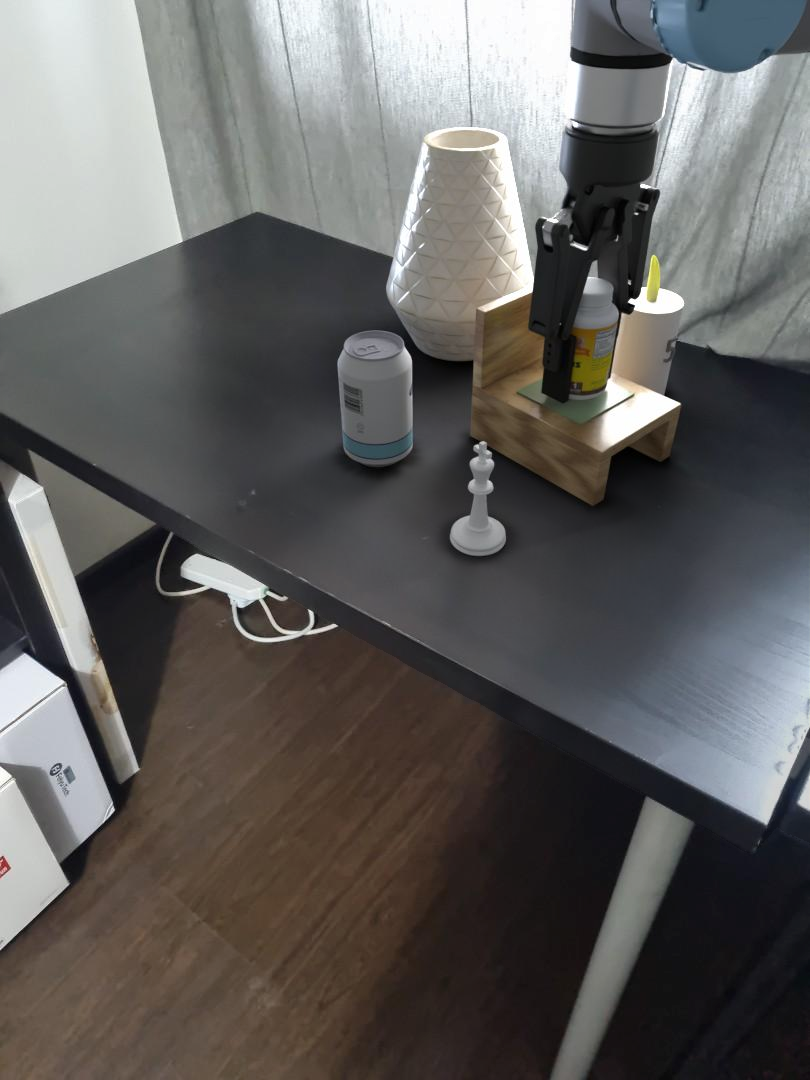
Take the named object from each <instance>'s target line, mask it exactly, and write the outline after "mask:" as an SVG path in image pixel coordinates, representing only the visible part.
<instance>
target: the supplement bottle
mask: <svg viewBox="0 0 810 1080" xmlns="http://www.w3.org/2000/svg"><path fill="white" fill-rule="evenodd" d="M612 295H613V285H612V284H611V283H610V282H608V281H606V280H604V279H600V278H598V277H593V276H588V278H587V281H586V285H585V288H584V291H583V295H582V298H581V301H580V305H579V308H578V311H577V315H576V318H575V321H574V325H573V328H572V331H571V334H572V335H574V336H576V337H577V339H576V347H575V354H574V362H573V370H572V377H571V385H570V393H569V399H575V400H587V399H592V398H595V397H597V396H599V395H601V394H602V393H603V392H604V391H605V389H606V387H607V382H608V377H609V370H610V365H611V359H612V353H613V347H614V341H615V335H616V329H617V322H618V316H619V313H618V309H617V307H616V306H615V305H614V304H613V303H612V299H613V298H612ZM560 323H561V322H560Z"/></svg>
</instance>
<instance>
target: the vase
mask: <svg viewBox="0 0 810 1080" xmlns="http://www.w3.org/2000/svg"><path fill="white" fill-rule="evenodd" d="M510 155H511V154H510V149H509V144H508V139H507V137H506V135H504V134H503V133H501V132H498V131H496V130H493V129H489V128H482V127H481V128H480V127H465V126H464V127H449V128H448V127H447V128H443V129H437V130H434V131H432V132H428V133H427V134H426V135H424V137H423V138H422V142H421V146H420V150H419V154H418V157H417V161H416V165H415V169H414V173H413V178H412V182H411V185H410V190H409V193H408V198H407V201H406V206H405V209H404V212H403V213H404V214H403V218H402V222H401V226H400V229H399V233H398V237H397V242H396V246H395V250H394V254H393V257H392V262H391V265H390V270H389V273H388V274H389V275H388V277H387V281H386V287H385V289H386V291H385V292H386V297H387V299H388V302H389V303H390V305H391V307H392V308H393V310H394V312H395V313H396V315H397V317H398V318H399V320H400V322H401V323H402V325H403V327H404V328H405V330H406V331H407V333H408V335H409V336H410V338H411V340H412V342H413V343H414V345H415V346H416V347H417V349H419V350H420V351H421V352H422V353H423V354H425V355H427V356H430V357H432V358H434V359H437V360H442V361H450V362H470V361H471V362H472V361H474V345H475V321H476V308H478V307H481V306H483V305H486V304H488V303H490V302H493V301H495V300H497V299H500V298H502V297H504V296H507V295H509V294H512V293H514V292H516V291H519V290H521V289H523V288H526V287H528V286H530V285H533V282H534V273H533V269H532V263H531V259H530V253H529V248H528V243H527V237H526V231H525V227H524V222H523V216H522V211H521V206H520V202H519V197H518V192H517V191H518V190H517V186H516V180H515V176H514V171H513V164H512V160H511V156H510Z"/></svg>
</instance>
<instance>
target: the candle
mask: <svg viewBox="0 0 810 1080" xmlns="http://www.w3.org/2000/svg"><path fill="white" fill-rule="evenodd" d="M659 262H660V261H659V260H658V258H657V256H656V255H655V254H653V255H652V256H651V259H650V264H649V270H648V271H649V272H648V278H647V283H646V287H642V290H641V294H640V296H639V298H638V299H636V300H634V299H630V300H629V301H628V302H629V303H631V304H634V305H635V308H634V311H633V312H632V313H631V314H630V315H627V314H625V313H622V316H621V322H620V328H619V334H618V337H617V341H616V347H615V353H614V360H613V366H612V373H614V374H616V375H618V376H621V377H623V378H625V379H627V380H630V381H632V382H634V383H636V384H639V385H641V386H643V387H645V388H647V389H650V390H652V391H654V392H656V393H659V394H661V395H663V396H665V393H666V390H667V389H666V388H667V385H668V384H667V383H668V380H669V376H670V375H669V374H670V371H671V366H672V361H673V358H674V357H675V354H676V343H677V341H678V340H679V336H678V334H679V329H680V324H681V319H682V315H683V310H684V305H685V301H684V299H683V298H682V296H680V295H678V294H677V293H675V292H673V291H670V290H668V289H664V288H660V287H661V267H660V263H659Z"/></svg>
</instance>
